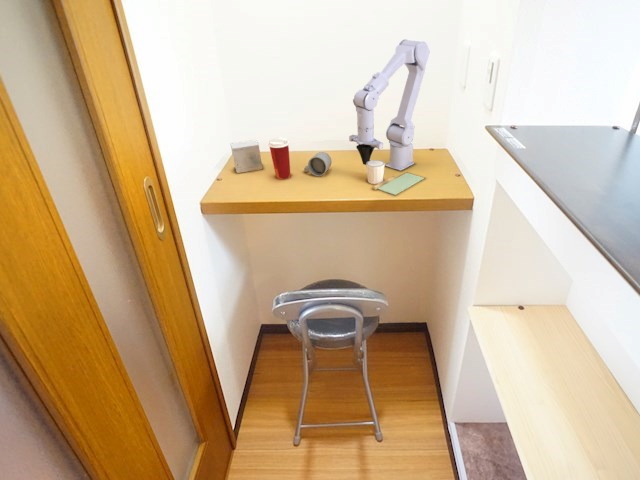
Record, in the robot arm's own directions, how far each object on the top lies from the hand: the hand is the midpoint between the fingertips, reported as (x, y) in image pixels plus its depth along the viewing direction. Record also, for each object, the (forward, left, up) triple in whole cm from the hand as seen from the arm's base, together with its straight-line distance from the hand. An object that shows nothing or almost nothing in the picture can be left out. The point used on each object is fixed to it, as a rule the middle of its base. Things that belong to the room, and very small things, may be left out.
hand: (365, 163), depth 148 cm
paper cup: (+19, -27, -6) cm, 33 cm away
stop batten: (0, +9, -6) cm, 11 cm away
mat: (-4, +14, -6) cm, 15 cm away
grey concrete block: (+23, -44, -6) cm, 50 cm away
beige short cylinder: (0, +4, -6) cm, 7 cm away
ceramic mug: (+8, -19, -6) cm, 21 cm away
